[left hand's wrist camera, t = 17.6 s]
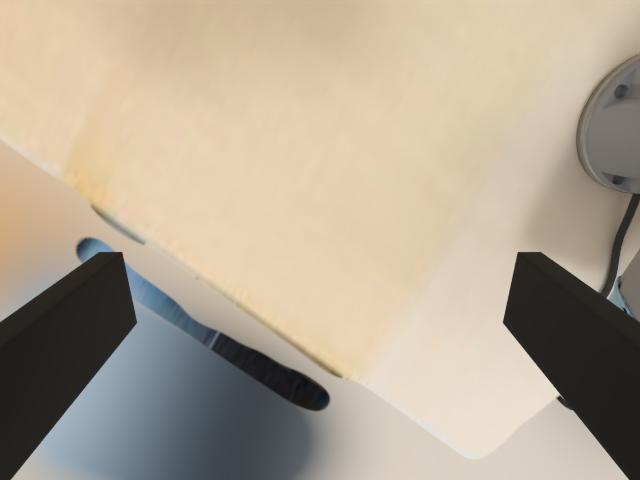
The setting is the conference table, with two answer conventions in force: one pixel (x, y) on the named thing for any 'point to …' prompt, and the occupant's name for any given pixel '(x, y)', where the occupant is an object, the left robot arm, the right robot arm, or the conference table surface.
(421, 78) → the conference table surface
